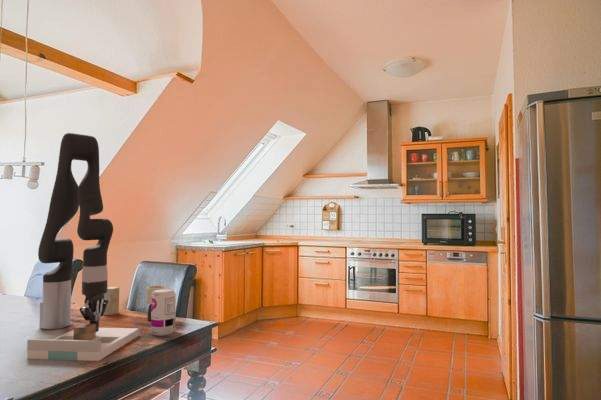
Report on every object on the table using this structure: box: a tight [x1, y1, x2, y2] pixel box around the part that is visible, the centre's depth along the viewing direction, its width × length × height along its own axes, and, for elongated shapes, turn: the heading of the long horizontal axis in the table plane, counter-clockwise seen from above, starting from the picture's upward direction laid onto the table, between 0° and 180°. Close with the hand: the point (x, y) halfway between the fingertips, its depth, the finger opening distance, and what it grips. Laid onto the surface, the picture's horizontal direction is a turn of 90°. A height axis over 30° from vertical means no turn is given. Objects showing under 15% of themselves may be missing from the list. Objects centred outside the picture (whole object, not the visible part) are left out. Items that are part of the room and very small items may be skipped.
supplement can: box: [150, 288, 177, 337], centre depth 143 cm, size 8×8×15 cm
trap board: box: [26, 327, 140, 362], centre depth 128 cm, size 22×24×6 cm
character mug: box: [145, 285, 166, 320], centre depth 161 cm, size 11×7×13 cm, turn 43°
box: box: [103, 286, 120, 316], centre depth 171 cm, size 5×4×11 cm
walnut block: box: [73, 323, 96, 340], centre depth 127 cm, size 4×4×4 cm
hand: (94, 331), depth 132 cm, fingers closed
